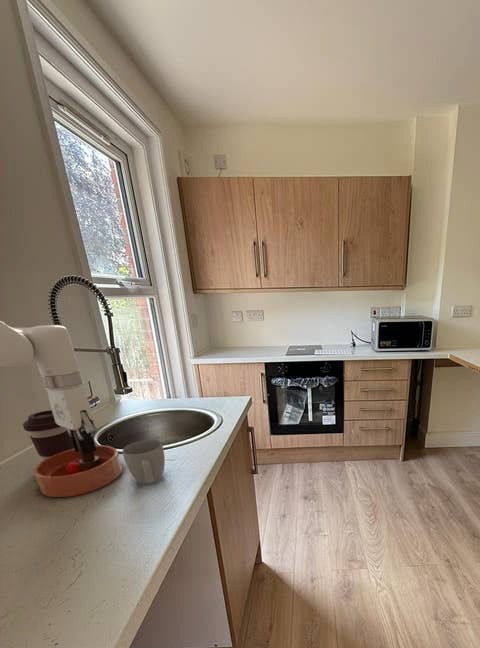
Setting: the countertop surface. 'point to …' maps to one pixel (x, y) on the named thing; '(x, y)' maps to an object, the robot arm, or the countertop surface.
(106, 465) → the bowl
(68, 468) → the tomato
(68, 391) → the robot arm
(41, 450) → the coffee cup
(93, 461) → the pestle
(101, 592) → the countertop surface
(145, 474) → the mug
